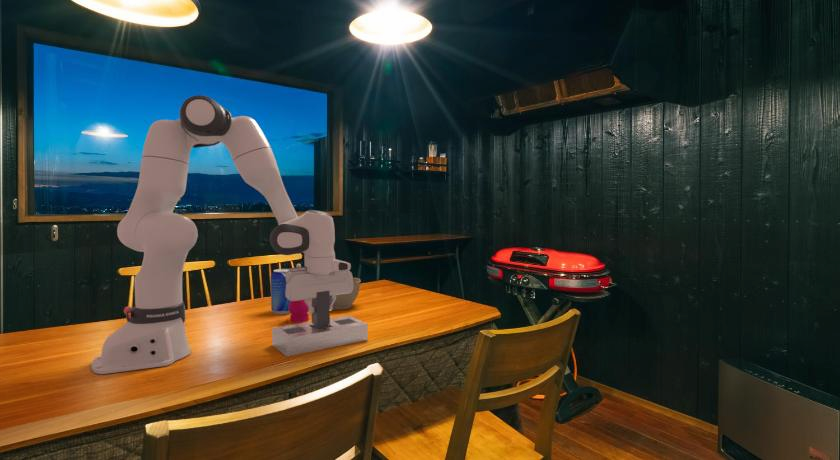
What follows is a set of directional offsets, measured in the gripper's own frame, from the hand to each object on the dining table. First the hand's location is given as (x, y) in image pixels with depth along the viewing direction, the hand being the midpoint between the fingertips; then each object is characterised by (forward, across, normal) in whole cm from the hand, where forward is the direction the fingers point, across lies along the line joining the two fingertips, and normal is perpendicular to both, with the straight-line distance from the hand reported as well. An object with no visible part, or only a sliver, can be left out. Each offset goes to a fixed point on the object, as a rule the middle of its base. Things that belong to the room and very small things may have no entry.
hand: (320, 311), depth 134 cm
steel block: (+4, 0, 0) cm, 4 cm away
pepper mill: (+10, +4, +28) cm, 30 cm away
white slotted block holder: (+9, 0, 0) cm, 9 cm away
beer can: (+10, +3, +42) cm, 43 cm away
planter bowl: (+10, +24, +37) cm, 45 cm away
